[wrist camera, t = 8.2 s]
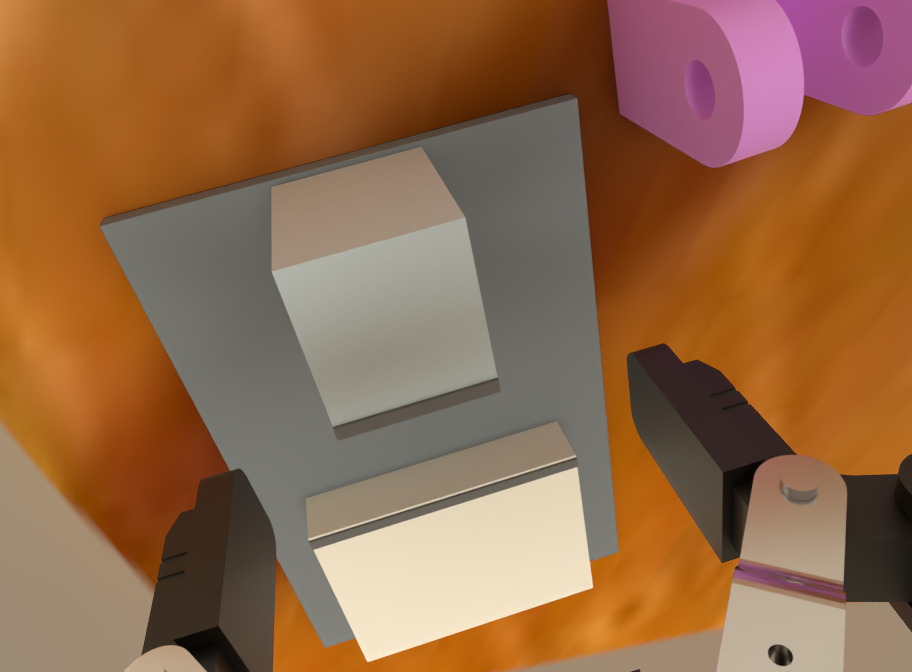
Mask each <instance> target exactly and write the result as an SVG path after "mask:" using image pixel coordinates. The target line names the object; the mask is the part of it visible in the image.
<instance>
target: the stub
mask: <svg viewBox="0 0 912 672" xmlns="http://www.w3.org/2000/svg"><path fill="white" fill-rule="evenodd" d="M271 240H272V274H273V277H274V279H275V282H276V284H277V287H278V289H279V292H280V294H281V297H282V299H283V302H284V304H285V307H286V309H287V312H288V314H289V317H290V320H291V322H292V325H293V327H294V330H295V332H296V335H297V337H298V340H299V342H300V345H301V347H302V350H303V352H304V355H305V358H306V360H307V363H308V365H309V368H310V370H311V373H312V375H313V378H314V380H315V383H316V385H317V388H318V390H319V393H320V395H321V398H322V401H323V403H324V406H325V408H326V411H327V413H328V416H329V418H330V421H331V423H332V426H333V430H334V433H335V435H336V438H337V440H338V441H340V440H343V439H346V438H349V437H353V436H356V435H359V434H363V433H366V432H369V431H373V430H376V429H379V428H383V427H386V426H389V425H393V424H396V423H399V422H402V421H406V420H409V419H412V418H416V417H419V416H422V415H426V414H429V413H432V412H436V411H439V410H442V409H445V408H449V407H452V406H455V405H459V404H462V403H465V402H469V401H472V400H475V399H479V398H482V397H485V396H488V395H492V394H495V393H498V392H501V389H500V384H499V379H498V377H497V372H496V367H495V362H494V357H493V352H492V347H491V342H490V337H489V332H488V327H487V322H486V317H485V312H484V307H483V303H482V298H481V293H480V288H479V283H478V278H477V273H476V268H475V263H474V258H473V253H472V248H471V243H470V238H469V233H468V228H467V223H466V218H465V216H464V214H463V213H462V211H461V210H460V208H459V206H458V205H457V203H456V202H455V200H454V198H453V197H452V195H451V193H450V192H449V190H448V189H447V187H446V185H445V184H444V182H443V181H442V179H441V177H440V176H439V174H438V172H437V171H436V169H435V168H434V166H433V164H432V163H431V161H430V160H429V158H428V156H427V155H426V153H425V151H424V150H423V148H422V147H418V148H414V149H410V150H407V151H403V152H399V153H395V154H392V155H388V156H384V157H381V158H377V159H373V160H369V161H366V162H362V163H358V164H355V165H351V166H347V167H343V168H340V169H336V170H332V171H329V172H325V173H321V174H317V175H314V176H310V177H306V178H303V179H299V180H295V181H291V182H288V183H284V184H280V185H277V186H273V187H271Z"/></svg>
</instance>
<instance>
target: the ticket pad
mask: <svg viewBox="0 0 912 672" xmlns="http://www.w3.org/2000/svg"><path fill="white" fill-rule="evenodd" d="M418 147H422V148H423V150H424V151H425V153H426V155H427V156H428V158H429V160H430V161H431V163H432V164H433V166H434V168H435V169H436V171H437V172H438V174H439V176H440V177H441V179H442V181H443V182H444V184H445V185H446V187H447V189H448V190H449V192H450V193H451V195H452V197H453V198H454V200H455V202H456V203H457V205H458V206H459V208H460V210H461V211H462V213H463V214H464V216H465V218H466V223H467V228H468V233H469V238H470V243H471V248H472V253H473V258H474V263H475V268H476V273H477V278H478V283H479V288H480V293H481V298H482V303H483V307H484V312H485V317H486V322H487V327H488V332H489V337H490V342H491V347H492V352H493V357H494V362H495V367H496V372H497V377H498V379H499V384H500V389H501V392H498V393H495V394H492V395H488V396H485V397H482V398H479V399H475V400H472V401H469V402H465V403H462V404H459V405H455V406H452V407H449V408H445V409H442V410H439V411H436V412H432V413H429V414H426V415H422V416H419V417H416V418H412V419H409V420H406V421H402V422H399V423H396V424H393V425H389V426H386V427H383V428H379V429H376V430H373V431H369V432H366V433H363V434H359V435H356V436H353V437H349V438H346V439H343V440H340V441H338V440H337V438H336V435H335V433H334V430H333V426H332V423H331V421H330V418H329V416H328V413H327V411H326V408H325V406H324V403H323V401H322V398H321V395H320V393H319V390H318V388H317V385H316V383H315V380H314V378H313V375H312V373H311V370H310V368H309V365H308V363H307V360H306V358H305V355H304V352H303V350H302V347H301V345H300V342H299V340H298V337H297V335H296V332H295V330H294V327H293V325H292V322H291V320H290V317H289V314H288V312H287V309H286V307H285V304H284V302H283V299H282V297H281V294H280V292H279V289H278V287H277V284H276V282H275V279H274V277H273V274H272V240H271V187H273V186H277V185H280V184H284V183H288V182H291V181H295V180H299V179H303V178H306V177H310V176H314V175H317V174H321V173H325V172H329V171H332V170H336V169H340V168H343V167H347V166H351V165H355V164H358V163H362V162H366V161H369V160H373V159H377V158H381V157H384V156H388V155H392V154H395V153H399V152H403V151H407V150H410V149H414V148H418ZM100 228H101V230H102V232H103V234H104V236H105V238H106V240H107V241H108V243H109V245H110V247H111V249H112V251H113V253H114V255H115V256H116V258H117V260H118V262H119V264H120V266H121V268H122V269H123V271H124V273H125V275H126V277H127V279H128V281H129V283H130V284H131V286H132V288H133V290H134V292H135V294H136V296H137V298H138V299H139V301H140V303H141V305H142V307H143V309H144V311H145V312H146V314H147V316H148V318H149V320H150V322H151V324H152V326H153V327H154V329H155V331H156V333H157V335H158V337H159V339H160V341H161V342H162V344H163V346H164V348H165V350H166V352H167V354H168V355H169V357H170V359H171V361H172V363H173V365H174V367H175V369H176V370H177V372H178V374H179V376H180V378H181V380H182V382H183V383H184V385H185V387H186V389H187V391H188V393H189V395H190V397H191V398H192V400H193V402H194V404H195V406H196V408H197V410H198V412H199V413H200V415H201V417H202V419H203V421H204V423H205V425H206V426H207V428H208V430H209V432H210V434H211V436H212V438H213V440H214V441H215V443H216V445H217V447H218V449H219V451H220V453H221V455H222V456H223V458H224V460H225V462H226V464H227V466H228V468H229V469H230V471H231V470H235V469H238V468H240V469H241V470H242V471H243V472H244V473H245V475H246V476H247V478H248V480H249V482H250V484H251V486H252V487H253V489H254V491H255V493H256V495H257V497H258V499H259V500H260V502H261V504H262V506H263V508H264V510H265V512H266V513H267V515H268V517H269V519H270V521H271V524H272V527H273V531H274V535H275V540H276V557H277V559H278V561H279V563H280V565H281V567H282V569H283V570H284V572H285V574H286V576H287V578H288V580H289V582H290V583H291V585H292V587H293V589H294V591H295V593H296V595H297V597H298V598H299V600H300V602H301V604H302V606H303V608H304V610H305V612H306V613H307V615H308V617H309V619H310V621H311V623H312V625H313V626H314V628H315V630H316V632H317V634H318V636H319V638H320V640H321V641H322V643H323V645H324V647H325V648H326V647H329V646H332V645H335V644H338V643H341V642H344V641H347V640H351V639H354V638H356V639H357V641H358V643H359V646H360V648H361V650H362V652H363V654H364V656H365V658H366V660H367V662H370V661H373V660H376V659H379V658H382V657H385V656H388V655H391V654H394V653H397V652H400V651H403V650H406V649H409V648H412V647H415V646H418V645H421V644H424V643H427V642H430V641H433V640H436V639H439V638H442V637H445V636H448V635H451V634H454V633H458V632H461V631H464V630H467V629H470V628H473V627H476V626H479V625H482V624H485V623H488V622H491V621H494V620H497V619H500V618H503V617H506V616H509V615H512V614H515V613H518V612H521V611H524V610H527V609H530V608H533V607H536V606H539V605H542V604H545V603H548V602H551V601H554V600H557V599H561V598H564V597H567V596H570V595H573V594H576V593H579V592H582V591H585V590H588V589H591V588H593V583H592V576H591V568H590V561H592V560H595V559H598V558H602V557H605V556H608V555H611V554H614V553H617V552H619V550H618V539H617V528H616V517H615V506H614V495H613V484H612V473H611V462H610V451H609V440H608V429H607V418H606V407H605V396H604V385H603V374H602V363H601V352H600V341H599V330H598V320H597V309H596V298H595V287H594V276H593V265H592V254H591V243H590V232H589V221H588V210H587V199H586V188H585V177H584V166H583V155H582V144H581V133H580V122H579V111H578V100H577V98H576V97H575V96H573V95H571V94H567V95H563V96H559V97H555V98H552V99H548V100H544V101H540V102H537V103H533V104H529V105H525V106H522V107H518V108H514V109H510V110H507V111H503V112H499V113H496V114H492V115H488V116H484V117H481V118H477V119H473V120H469V121H466V122H462V123H458V124H454V125H451V126H447V127H443V128H439V129H436V130H432V131H428V132H425V133H421V134H417V135H413V136H410V137H406V138H402V139H398V140H395V141H391V142H387V143H383V144H380V145H376V146H372V147H368V148H365V149H361V150H357V151H354V152H350V153H346V154H342V155H339V156H335V157H331V158H327V159H324V160H320V161H316V162H312V163H309V164H305V165H301V166H297V167H294V168H290V169H286V170H283V171H279V172H275V173H271V174H268V175H264V176H260V177H256V178H253V179H249V180H245V181H241V182H238V183H234V184H230V185H226V186H223V187H219V188H215V189H212V190H208V191H204V192H200V193H197V194H193V195H189V196H185V197H182V198H178V199H174V200H170V201H167V202H163V203H159V204H155V205H152V206H148V207H144V208H141V209H137V210H133V211H129V212H126V213H122V214H118V215H114V216H111V217H107V218H104V219H103V221H102V223H101V225H100Z"/></svg>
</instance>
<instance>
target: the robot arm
mask: <svg viewBox="0 0 912 672" xmlns="http://www.w3.org/2000/svg"><path fill="white" fill-rule="evenodd" d="M627 368H628V379H629V390H630V401H631V411H632V416H633V420H634V423H635V426H636V429H637V431H638V434H639V436H640V438H641V439H642V441H643V443H644V444H645V446H646V447H647V449H648V450H649V452H650V453H651V455H652V456H653V458H654V460H655V461H656V463H657V464H658V466H659V467H660V469H661V470H662V472H663V473H664V475H665V476H666V478H667V479H668V481H669V483H670V484H671V486H672V487H673V489H674V490H675V492H676V493H677V495H678V496H679V498H680V499H681V501H682V503H683V504H684V506H685V507H686V509H687V510H688V512H689V513H690V515H691V516H692V518H693V519H694V521H695V522H696V524H697V526H698V527H699V529H700V530H701V532H702V533H703V535H704V536H705V538H706V539H707V541H708V542H709V544H710V546H711V547H712V549H713V550H714V552H715V553H716V555H717V556H718V558H719V559H720V561H721V562H722V563H724V562H727V561H730V560H733V559H736V558H740V560H739V565H738V566H736V567H735V570H734V575H733V580H732V585H731V591H730V596H729V602H728V607H727V613H726V619H725V624H724V630H723V636H722V641H721V647H720V653H719V658H718V664H717V670H716V672H843V668H844V642H845V640H844V639H845V616H846V615H845V614H846V602H889V603H890V604H891V605H892V607H893V608H894V610H895V611H896V612H897V614H898V615H899V616H900V617H901V619H902V620H903V621H904V623H905V624H906V625H907V627H908V628H909V629H910V630H911V632H912V454H911V455H909V456H907V457H906V458H905V459H904V460H903V461H902V463H901V465H900V468H899V472H898V474H889V475H860V476H853V475H841V474H839V473H838V472H837V471H836V470H834V469H833V468H832V467H831V466H829V465H827V464H826V463H824V462H822V461H820V460H817V459H814V458H811V457H807V456H801V455H797V454H796V453H795V452H794V451H793V450H792V449H791V448H790V447H789V446H788V445H787V444H786V443H785V442H784V440H783V439H782V438H781V437H780V436H779V435H778V434H777V433H776V432H775V431H774V430H773V428H772V427H771V426H770V425H769V424H768V423H767V422H766V421H765V420H764V419H763V418H762V416H761V415H760V414H759V413H758V412H757V411H756V410H755V409H754V408H753V407H752V406H751V404H750V405H749V404H748V402H747V400H746V399H745V398H744V397H743V396H742V395H741V394H740V392H739V391H736V390H735V387H734V386H733V385H732V384H731V383H730V382H729V380H728V379H727V378H726V377H725V376H724V375H723V374H722V373H721V372H720V371H719V370H717V369H715V368H713V367H711V366H709V365H707V364H705V363H703V362H701V361H699V360H694V361H691V362H687V363H684V364H683V363H682V362H681V361H680V359H679V358H678V357H677V356H676V355H675V353H674V352H673V351H672V350H671V349H670V348H669V347H668V346H667V345H666V344H659V345H656V346H653V347H649V348H646V349H642V350H639V351H636V352H632V353H629V354H628V356H627ZM161 560H162V564H160V568H159V573H158V578H157V579H158V583H156V588H155V592H154V597H153V602H152V607H151V612H150V617H149V622H148V627H147V631H146V636H145V641H144V646H143V651H142V655H141V656H140V657H139V658H137V659H136V660H135V661H134V662H132V663H131V664H130V666H128V667H127V668H126V669H125V670H124V672H273V645H274V612H275V578H276V540H275V535H274V531H273V527H272V524H271V521H270V519H269V517H268V515H267V513H266V512H265V510H264V508H263V506H262V504H261V502H260V500H259V499H258V497H257V495H256V493H255V491H254V489H253V487H252V486H251V484H250V482H249V480H248V478H247V476H246V475H245V473H244V472H243V471H242V470H241V469H240V468H238V469H235V470H231V471H228V472H225V473H221V474H218V475H214V476H211V477H208V478H204V479H202V480H201V481H200V483H199V488H198V494H197V500H196V506H195V509H192V510H188V511H185V512H182V513H180V515H179V516H178V518H177V520H176V521H175V523H174V524H173V526H172V528H171V529H170V531H169V532H168V534H167V536H166V539H165V544H164V549H163V554H162V559H161ZM632 672H640V670H639V669H638V670H635V671H632Z"/></svg>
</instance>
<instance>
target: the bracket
mask: <svg viewBox="0 0 912 672" xmlns="http://www.w3.org/2000/svg"><path fill="white" fill-rule="evenodd" d="M607 2H608V12H609V21H610V30H611V39H612V49H613V58H614V67H615V76H616V85H617V95H618V104H619V113H620V114H621V115H623V116H624V117H626V118H627V119H629V120H631V121H632V122H634V123H636V124H637V125H639V126H641V127H642V128H644V129H646V130H647V131H649V132H651V133H652V134H654V135H656V136H657V137H659V138H660V139H662V140H664V141H665V142H667V143H669V144H670V145H672V146H674V147H675V148H677V149H679V150H680V151H682V152H684V153H685V154H687V155H689V156H690V157H692V158H693V159H695V160H697V161H698V162H700V163H702V164H704V165H706V166H708V167H713V168H717V167H721V166H724V165H727V164H730V163H733V162H736V161H739V160H742V159H745V158H748V157H751V156H754V155H757V154H760V153H763V152H766V151H769V150H772V149H775V148H778V147H779V146H781V145H782V144H784V143H785V142H786V141H787V140H788V139H789V138H790V136H791V135H792V133H793V131H794V129H795V128H796V125H797V123H798V120H799V117H800V114H801V109H802V104H803V96H804V95H806V96H809V97H812V98H815V99H818V100H820V101H823V102H826V103H829V104H831V105H834V106H837V107H840V108H843V109H845V110H848V111H851V112H854V113H857V114H860V115H876V114H880V113H883V112H886V111H889V110H892V109H895V108H898V107H901V106H904V105H907V104H910V103H912V0H607Z"/></svg>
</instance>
